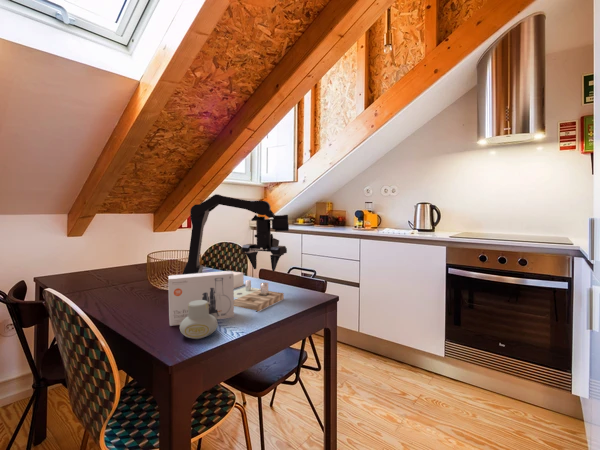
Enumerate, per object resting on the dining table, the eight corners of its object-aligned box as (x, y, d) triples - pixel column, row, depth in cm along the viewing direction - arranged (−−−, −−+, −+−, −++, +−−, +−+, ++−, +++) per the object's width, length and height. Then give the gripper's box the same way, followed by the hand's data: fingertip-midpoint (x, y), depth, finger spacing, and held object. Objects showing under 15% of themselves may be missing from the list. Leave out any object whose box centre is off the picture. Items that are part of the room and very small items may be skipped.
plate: (242, 300, 133) (241, 287, 132) (222, 296, 138) (221, 284, 138) (264, 290, 147) (264, 279, 146) (245, 287, 152) (245, 277, 152)
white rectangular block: (226, 292, 145) (226, 277, 144) (214, 290, 148) (214, 276, 148) (243, 286, 155) (243, 272, 155) (232, 284, 159) (232, 271, 158)
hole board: (257, 311, 118) (257, 305, 118) (232, 307, 124) (231, 300, 123) (283, 299, 133) (283, 293, 133) (260, 295, 139) (260, 289, 139)
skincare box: (169, 327, 104) (167, 278, 103) (169, 321, 109) (167, 275, 108) (235, 317, 112) (233, 272, 111) (231, 312, 117) (230, 269, 116)
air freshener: (177, 342, 93) (176, 308, 92) (183, 331, 101) (182, 299, 100) (216, 339, 94) (215, 305, 94) (219, 328, 102) (218, 297, 102)
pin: (265, 301, 130) (265, 284, 129) (259, 300, 131) (258, 283, 131) (270, 299, 133) (269, 283, 132) (263, 298, 134) (263, 282, 134)
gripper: (293, 231, 133) (294, 268, 134) (257, 229, 142) (257, 264, 143) (278, 233, 123) (279, 273, 124) (240, 231, 132) (241, 269, 133)
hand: (264, 270), depth 131 cm, fingers open, 9 cm apart
